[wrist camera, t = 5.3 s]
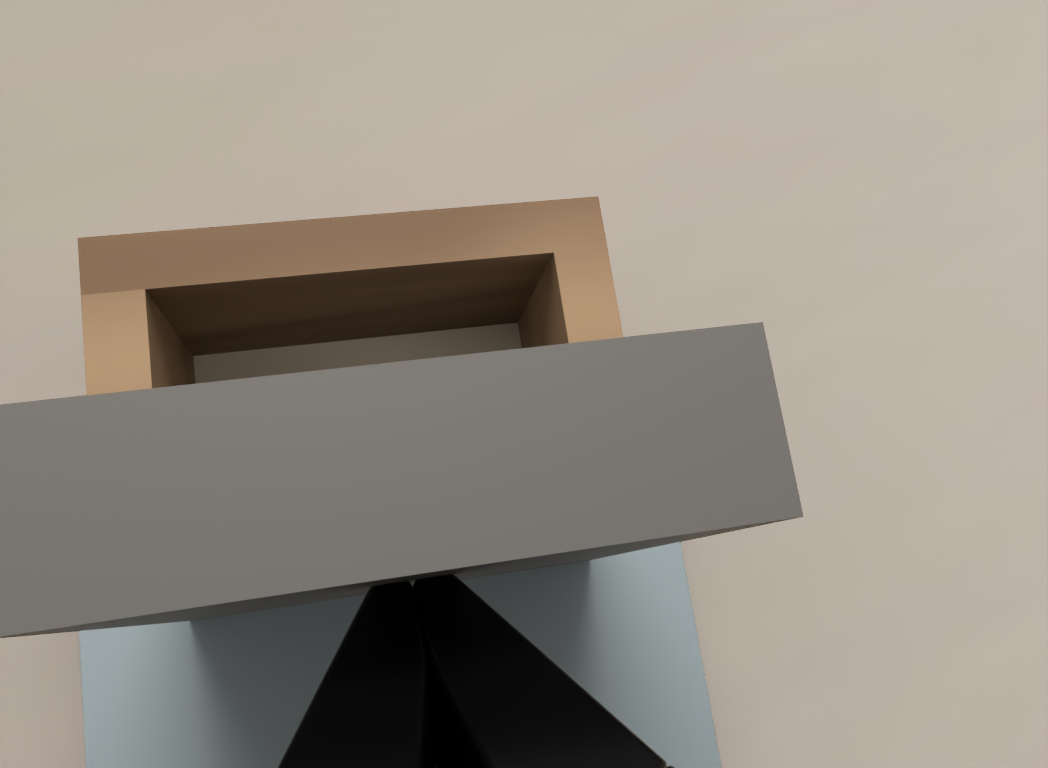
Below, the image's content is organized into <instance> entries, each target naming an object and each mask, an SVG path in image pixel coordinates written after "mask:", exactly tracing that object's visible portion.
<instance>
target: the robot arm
mask: <svg viewBox="0 0 1048 768" xmlns="http://www.w3.org/2000/svg"><path fill="white" fill-rule="evenodd" d="M277 768H675V767H674V766H668V767H667V763H666V761H665V760H664V759H663V758H662V757H661V756H659V755H658V754H657V753H656V752H655V751H654V750H653V749H651V748H650V747H649V746H648V745H647V744H646V743H645V742H644V741H642V740H641V739H640V738H639V737H638V736H637V735H636V734H634V733H633V732H632V731H631V730H630V729H629V728H628V727H627V726H625V725H624V724H623V723H622V722H621V721H620V720H619V719H617V718H616V717H615V716H614V715H613V714H612V713H611V712H610V711H608V710H607V709H606V708H605V707H604V706H603V705H602V704H600V703H599V702H598V701H597V700H596V699H595V698H594V697H593V696H591V695H590V694H589V693H588V692H587V691H586V690H585V689H583V688H582V687H581V686H580V685H579V684H578V683H577V682H576V681H574V680H573V679H572V678H571V677H570V676H569V675H568V674H566V673H565V672H564V671H563V670H562V669H561V668H560V667H559V666H557V665H556V664H555V663H554V662H553V661H552V660H551V659H549V658H548V657H547V656H546V655H545V654H544V653H543V652H542V651H540V650H539V649H538V648H537V647H536V646H535V645H534V644H532V643H531V642H530V641H529V640H528V639H527V638H526V637H525V636H523V635H522V634H521V633H520V632H519V631H518V630H517V629H515V628H514V627H513V626H512V625H511V624H510V623H509V622H508V621H506V620H505V619H504V618H503V617H502V616H501V615H500V614H498V613H497V612H496V611H495V610H494V609H493V608H492V607H491V606H489V605H488V604H487V603H486V602H485V601H484V600H483V599H481V598H480V597H479V596H478V595H477V594H476V593H475V592H474V591H472V590H471V589H470V588H469V587H468V586H467V585H466V584H464V583H463V582H462V581H461V580H460V579H459V578H458V577H456V576H455V575H453V574H451V575H444V576H438V577H431V578H424V579H418V580H416V581H415V582H414V584H413V586H412V584H411V583H410V582H408V581H405V582H398V583H391V584H385V585H378V586H372V587H370V589H369V590H368V592H367V593H366V595H365V597H364V599H363V601H362V603H361V605H360V607H359V609H358V611H357V613H356V615H355V617H354V619H353V621H352V623H351V625H350V627H349V628H348V630H347V632H346V634H345V636H344V638H343V640H342V642H341V644H340V646H339V648H338V650H337V652H336V654H335V656H334V658H333V660H332V662H331V664H330V666H329V668H328V670H327V671H326V673H325V675H324V677H323V679H322V681H321V683H320V685H319V687H318V689H317V691H316V693H315V695H314V697H313V699H312V701H311V703H310V705H309V707H308V709H307V711H306V712H305V714H304V716H303V718H302V720H301V722H300V724H299V726H298V728H297V730H296V732H295V734H294V736H293V738H292V740H291V742H290V744H289V746H288V748H287V750H286V752H285V753H284V755H283V757H282V759H281V761H280V763H279V765H278V767H277Z"/></svg>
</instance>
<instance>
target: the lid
mask: <svg viewBox="0 0 1048 768" xmlns="http://www.w3.org/2000/svg"><path fill="white" fill-rule="evenodd" d="M798 517H803V513H802V508H801V503H800V499H799V494H798V489H797V484H796V479H795V475H794V470H793V465H792V460H791V456H790V451H789V446H788V441H787V436H786V432H785V427H784V422H783V417H782V413H781V408H780V403H779V398H778V393H777V389H776V384H775V379H774V374H773V370H772V365H771V360H770V355H769V351H768V346H767V341H766V336H765V331H764V327H763V322H760V323H751V324H742V325H733V326H723V327H714V328H705V329H696V330H686V331H677V332H668V333H659V334H649V335H640V336H631V337H622V338H612V339H603V340H594V341H585V342H576V343H566V344H557V345H548V346H539V347H529V348H520V349H511V350H502V351H492V352H483V353H474V354H465V355H455V356H446V357H437V358H428V359H419V360H409V361H400V362H391V363H382V364H372V365H363V366H354V367H345V368H335V369H326V370H317V371H308V372H298V373H289V374H280V375H271V376H261V377H252V378H243V379H234V380H225V381H215V382H206V383H197V384H188V385H178V386H169V387H160V388H151V389H141V390H132V391H123V392H114V393H104V394H95V395H86V396H77V397H68V398H58V399H49V400H40V401H31V402H21V403H12V404H3V405H0V638H5V637H17V636H28V635H39V634H50V633H61V632H73V631H79V644H80V663H81V682H82V701H83V720H84V738H85V757H86V768H277V767H278V765H279V763H280V761H281V759H282V757H283V755H284V753H285V752H286V750H287V748H288V746H289V744H290V742H291V740H292V738H293V736H294V734H295V732H296V730H297V728H298V726H299V724H300V722H301V720H302V718H303V716H304V714H305V712H306V711H307V709H308V707H309V705H310V703H311V701H312V699H313V697H314V695H315V693H316V691H317V689H318V687H319V685H320V683H321V681H322V679H323V677H324V675H325V673H326V671H327V670H328V668H329V666H330V664H331V662H332V660H333V658H334V656H335V654H336V652H337V650H338V648H339V646H340V644H341V642H342V640H343V638H344V636H345V634H346V632H347V630H348V628H349V627H350V625H351V623H352V621H353V619H354V617H355V615H356V613H357V611H358V609H359V607H360V605H361V603H362V601H363V599H364V597H365V595H366V593H367V592H368V590H369V589H370V587H372V586H378V585H385V584H391V583H398V582H405V581H408V582H410V583H411V584H412V586H413V584H414V582H415V581H416V580H418V579H424V578H431V577H438V576H444V575H451V574H453V575H455V576H456V577H458V578H459V579H460V580H461V581H462V582H463V583H464V584H466V585H467V586H468V587H469V588H470V589H471V590H472V591H474V592H475V593H476V594H477V595H478V596H479V597H480V598H481V599H483V600H484V601H485V602H486V603H487V604H488V605H489V606H491V607H492V608H493V609H494V610H495V611H496V612H497V613H498V614H500V615H501V616H502V617H503V618H504V619H505V620H506V621H508V622H509V623H510V624H511V625H512V626H513V627H514V628H515V629H517V630H518V631H519V632H520V633H521V634H522V635H523V636H525V637H526V638H527V639H528V640H529V641H530V642H531V643H532V644H534V645H535V646H536V647H537V648H538V649H539V650H540V651H542V652H543V653H544V654H545V655H546V656H547V657H548V658H549V659H551V660H552V661H553V662H554V663H555V664H556V665H557V666H559V667H560V668H561V669H562V670H563V671H564V672H565V673H566V674H568V675H569V676H570V677H571V678H572V679H573V680H574V681H576V682H577V683H578V684H579V685H580V686H581V687H582V688H583V689H585V690H586V691H587V692H588V693H589V694H590V695H591V696H593V697H594V698H595V699H596V700H597V701H598V702H599V703H600V704H602V705H603V706H604V707H605V708H606V709H607V710H608V711H610V712H611V713H612V714H613V715H614V716H615V717H616V718H617V719H619V720H620V721H621V722H622V723H623V724H624V725H625V726H627V727H628V728H629V729H630V730H631V731H632V732H633V733H634V734H636V735H637V736H638V737H639V738H640V739H641V740H642V741H644V742H645V743H646V744H647V745H648V746H649V747H650V748H651V749H653V750H654V751H655V752H656V753H657V754H658V755H659V756H661V757H662V758H663V759H664V760H665V761H666V763H667V767H668V766H674V767H675V768H722V767H721V762H720V756H719V751H718V745H717V740H716V734H715V729H714V723H713V718H712V712H711V707H710V701H709V696H708V690H707V685H706V679H705V674H704V668H703V663H702V657H701V652H700V646H699V641H698V635H697V630H696V624H695V619H694V614H693V608H692V603H691V597H690V592H689V586H688V581H687V575H686V570H685V564H684V559H683V553H682V548H681V541H686V540H691V539H696V538H701V537H706V536H711V535H715V534H720V533H725V532H730V531H735V530H740V529H745V528H750V527H755V526H759V525H764V524H769V523H774V522H779V521H784V520H789V519H794V518H798Z"/></svg>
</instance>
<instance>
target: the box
mask: <svg viewBox="0 0 1048 768" xmlns="http://www.w3.org/2000/svg"><path fill="white" fill-rule="evenodd" d="M78 251H79V268H80V285H81V303H82V320H83V337H84V355H85V372H86V389H87V395H95V394H104V393H114V392H123V391H132V390H141V389H151V388H160V387H169V386H178V385H188V384H197V383H206V382H215V381H225V380H234V379H243V378H252V377H261V376H271V375H280V374H289V373H298V372H308V371H317V370H326V369H335V368H345V367H354V366H363V365H372V364H382V363H391V362H400V361H409V360H419V359H428V358H437V357H446V356H455V355H465V354H474V353H483V352H492V351H502V350H511V349H520V348H529V347H539V346H548V345H557V344H566V343H576V342H585V341H594V340H603V339H612V338H622V337H623V334H622V328H621V322H620V317H619V311H618V306H617V300H616V294H615V289H614V283H613V277H612V272H611V266H610V261H609V255H608V249H607V244H606V238H605V232H604V227H603V221H602V216H601V210H600V204H599V199H598V197H586V198H573V199H561V200H548V201H536V202H523V203H511V204H498V205H485V206H473V207H460V208H448V209H435V210H423V211H410V212H398V213H385V214H372V215H360V216H347V217H335V218H322V219H310V220H297V221H285V222H272V223H259V224H247V225H234V226H222V227H209V228H197V229H184V230H172V231H159V232H146V233H134V234H121V235H109V236H96V237H84V238H78Z"/></svg>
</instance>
